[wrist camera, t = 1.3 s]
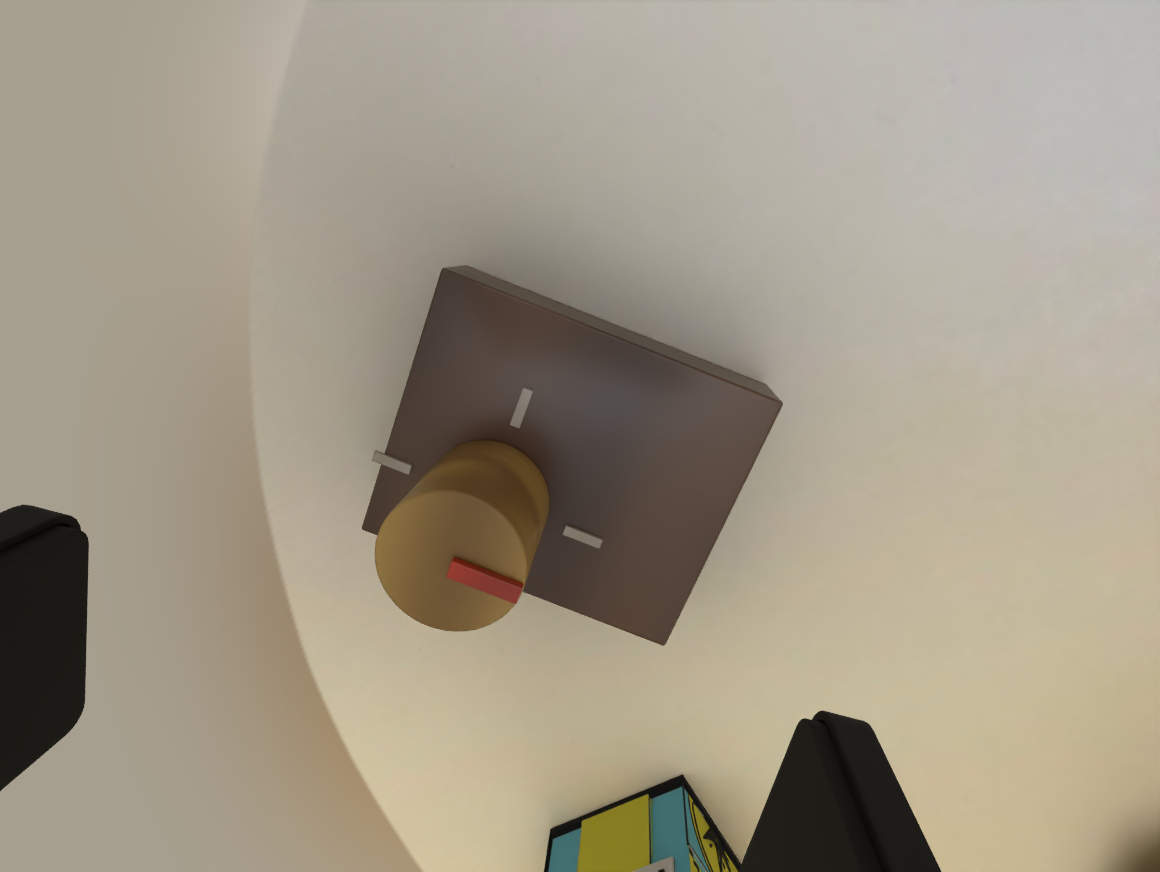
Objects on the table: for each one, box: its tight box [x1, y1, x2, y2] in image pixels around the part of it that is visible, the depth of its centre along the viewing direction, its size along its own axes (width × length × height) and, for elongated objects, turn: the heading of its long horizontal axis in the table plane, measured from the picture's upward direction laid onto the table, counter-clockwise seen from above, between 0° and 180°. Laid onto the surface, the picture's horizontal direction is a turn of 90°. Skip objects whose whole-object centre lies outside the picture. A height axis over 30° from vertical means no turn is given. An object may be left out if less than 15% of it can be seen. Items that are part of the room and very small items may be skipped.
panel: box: [362, 266, 783, 645], centre depth 25 cm, size 12×11×3 cm
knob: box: [375, 440, 550, 631], centre depth 21 cm, size 4×4×5 cm
